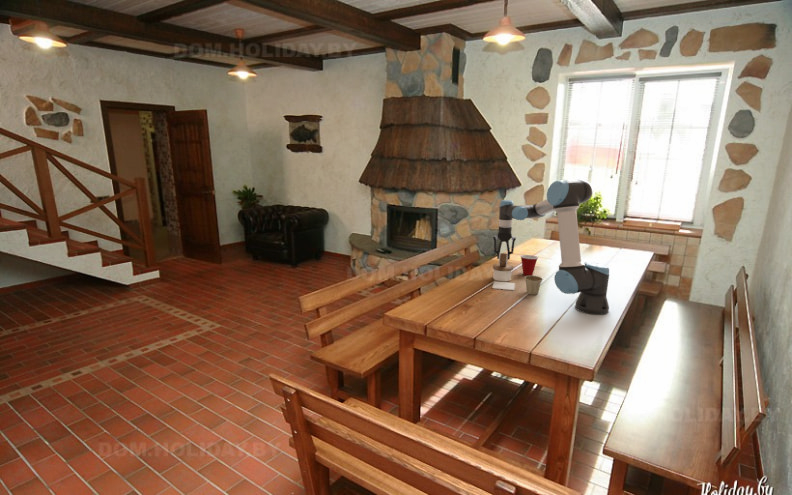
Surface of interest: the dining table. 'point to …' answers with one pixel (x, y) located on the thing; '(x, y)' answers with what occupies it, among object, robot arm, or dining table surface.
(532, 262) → the plastic cup
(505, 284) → the mat
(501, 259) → the lid
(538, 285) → the flower pot
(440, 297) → the dining table surface
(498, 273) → the bowl
